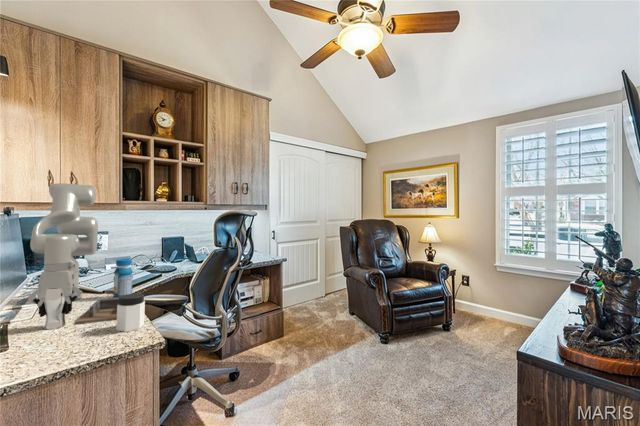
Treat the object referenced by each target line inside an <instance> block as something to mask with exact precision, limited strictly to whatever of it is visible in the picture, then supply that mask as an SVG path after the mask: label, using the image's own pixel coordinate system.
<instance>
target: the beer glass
mask: <svg viewBox="0 0 640 426" xmlns="http://www.w3.org/2000/svg"><path fill="white" fill-rule="evenodd" d="M65 304H67V302H66V297H64V295H63V291H62V288H58V289H46V293H45V297H44V309H45V314H46V315H45V323H44V327H43V329H44V330H48V331H49V330H56V329H60V328H63V327H65V326H66V324H67V323H66V317H65V315H66V314H65Z"/></svg>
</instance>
